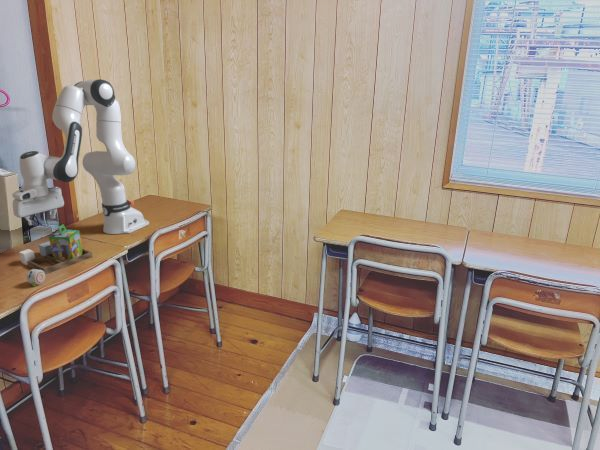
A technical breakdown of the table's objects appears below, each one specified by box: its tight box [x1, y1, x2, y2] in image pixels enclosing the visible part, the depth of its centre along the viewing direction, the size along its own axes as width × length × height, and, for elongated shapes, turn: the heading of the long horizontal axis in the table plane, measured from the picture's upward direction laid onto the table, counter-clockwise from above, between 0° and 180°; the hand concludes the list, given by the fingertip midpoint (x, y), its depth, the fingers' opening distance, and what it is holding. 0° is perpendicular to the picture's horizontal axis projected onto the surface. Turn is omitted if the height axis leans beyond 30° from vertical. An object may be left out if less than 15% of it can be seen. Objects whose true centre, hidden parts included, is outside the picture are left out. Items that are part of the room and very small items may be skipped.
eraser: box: [18, 248, 36, 266], centre depth 210 cm, size 4×4×5 cm
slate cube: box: [38, 240, 52, 256], centre depth 218 cm, size 5×5×5 cm
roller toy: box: [26, 268, 46, 287], centre depth 191 cm, size 4×6×6 cm
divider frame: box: [27, 248, 93, 275], centre depth 211 cm, size 21×14×2 cm, turn 144°
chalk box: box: [48, 224, 84, 262], centre depth 211 cm, size 9×9×15 cm
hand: (42, 221), depth 213 cm, fingers open, 8 cm apart
